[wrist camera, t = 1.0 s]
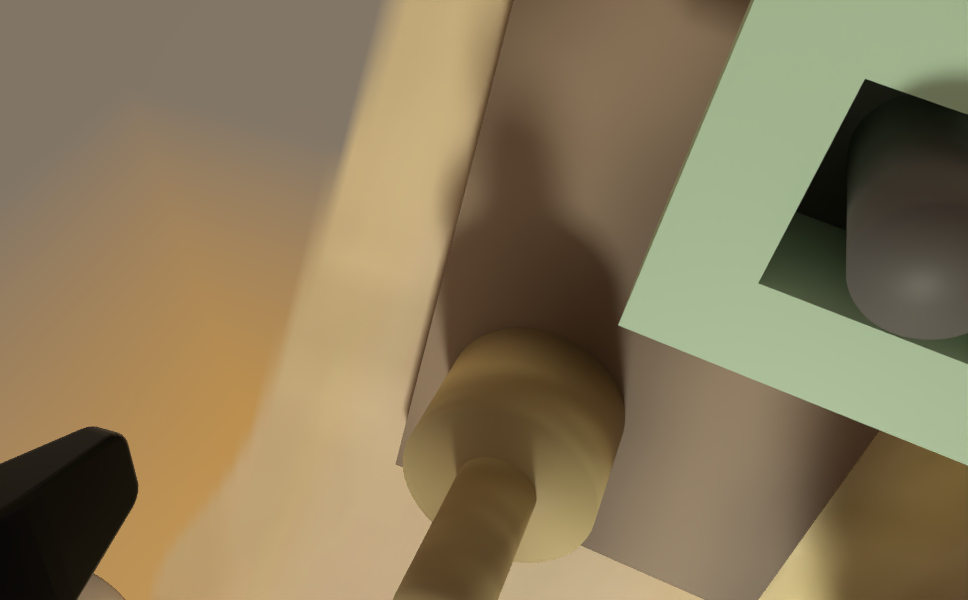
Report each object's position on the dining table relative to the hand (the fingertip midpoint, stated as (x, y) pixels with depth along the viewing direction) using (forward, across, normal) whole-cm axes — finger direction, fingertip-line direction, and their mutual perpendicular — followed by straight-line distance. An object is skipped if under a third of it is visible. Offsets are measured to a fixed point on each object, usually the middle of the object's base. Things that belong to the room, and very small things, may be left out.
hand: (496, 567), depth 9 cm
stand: (+12, -1, +2) cm, 12 cm away
